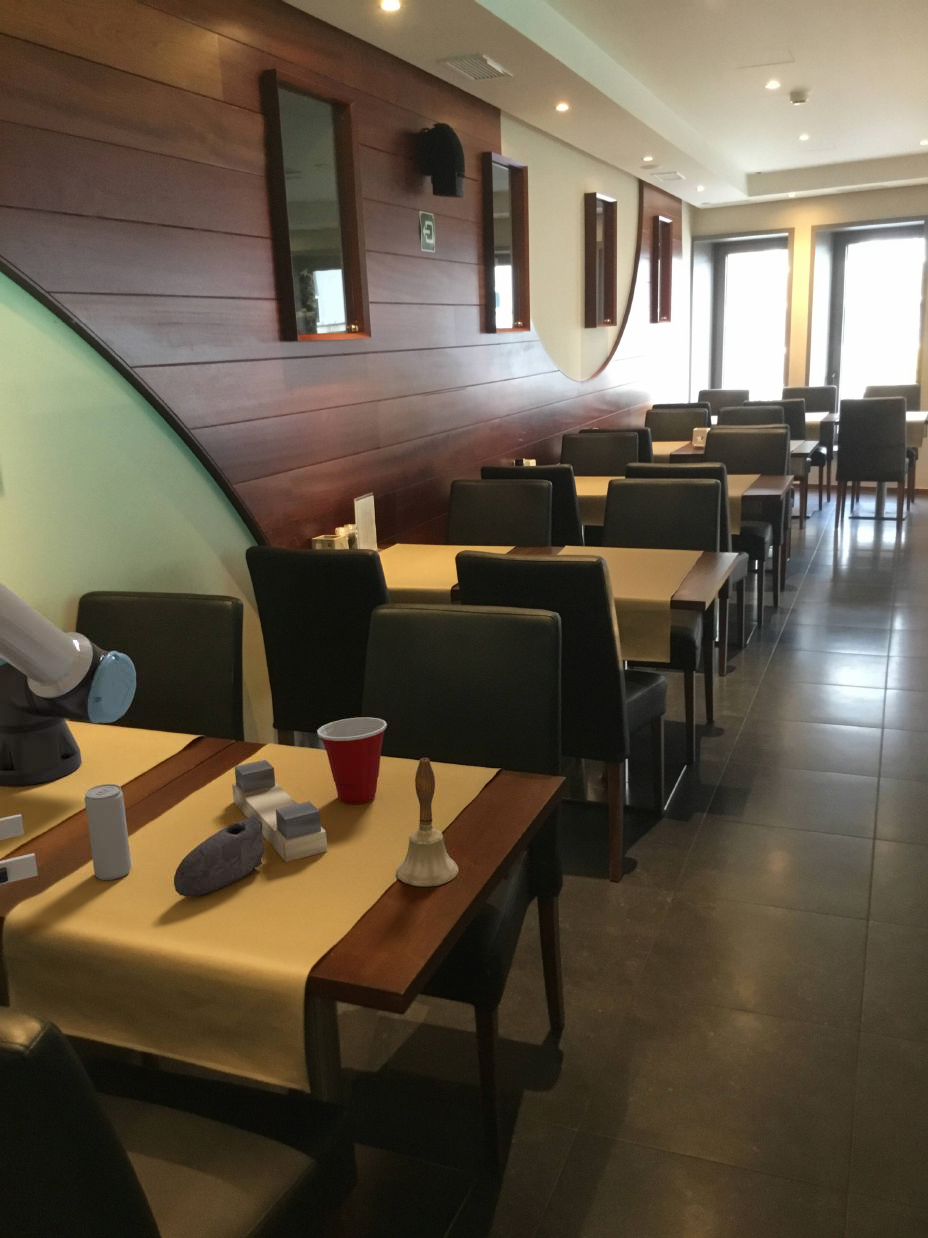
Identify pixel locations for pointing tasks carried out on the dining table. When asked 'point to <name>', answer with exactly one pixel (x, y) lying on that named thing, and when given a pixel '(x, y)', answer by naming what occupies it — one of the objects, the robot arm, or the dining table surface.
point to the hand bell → (426, 840)
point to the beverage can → (108, 831)
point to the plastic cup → (354, 756)
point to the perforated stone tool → (221, 859)
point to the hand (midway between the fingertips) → (29, 843)
